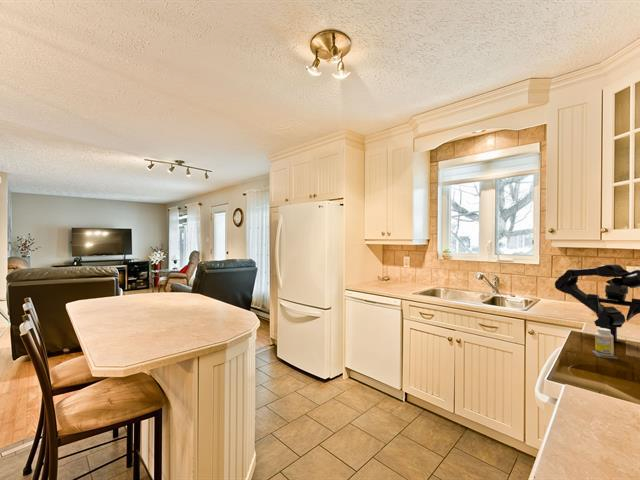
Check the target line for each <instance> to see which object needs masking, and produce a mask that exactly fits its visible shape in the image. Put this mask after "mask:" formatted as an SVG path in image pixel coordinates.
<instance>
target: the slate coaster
mask: <svg viewBox="0 0 640 480" xmlns="http://www.w3.org/2000/svg"><path fill="white" fill-rule="evenodd" d="M591 351H592V353H593V354H594V355H595V356H597V357H598V358H606V359H615V360H618V359H619V358H618V357H617V356H616V355H613V356H605V355H601V354H598V353H596V350H591Z"/></svg>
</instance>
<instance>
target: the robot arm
mask: <svg viewBox="0 0 640 480" xmlns="http://www.w3.org/2000/svg"><path fill="white" fill-rule="evenodd" d="M586 276H587V277H588V276H598V277H603V278H611V279H608V280H606V281H605V283H607V284H606V285H605V286H604V287H605V288H604V289H605V290H604V293H605V297H606V298H604V297H600V295H599V294H595V293H586V292H584V291H583V290H581V289H580V288H579V286H578V285H577V283H578V281H579V277H586ZM554 287H555V289H556V290H558V291H559V292H562V293H564V294H567V295H570V296H571V297H573V298H574V299H575V300H577V301H578V302H580V303H582V304H583V306H585V307H587V308H588V309H589V310H591V311H592V312H594V313H595V315H596V317H597V319H595V320H594V321H593V322H594V325H595V326H596V327H597V328H606V329H609V330H611V334H612V335H613V337H614V343H621V340H619V339H618V328H623V324H625V323H626V322H629V321H630V320H631V319H632V318H633V317H634V316H637V315H638V314H640V298H631V301H627V300H626V299H627V295H628V294H629V288H630V289H637V288H640V269H635V270H632V271H628V270H626V269H625V268H623V267H622V266H621V264H615V263H613V264H603V265H600V266H596V267H588V268H569V269H567V270H566V271H565V273H563V274H562V275H561V276H559V277H558V278H557V279H556V280H555V282H554ZM602 303H603V304H610V305H616V306H624V307H629V308H628V312H627V314H626V316H625V314H623V311H621V310H618V309H617V308H616V307H614V306H604V305H603V304H602ZM625 317H626V318H625Z"/></svg>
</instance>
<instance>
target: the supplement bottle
mask: <svg viewBox="0 0 640 480" xmlns="http://www.w3.org/2000/svg"><path fill="white" fill-rule="evenodd" d="M594 341H595V342H594V343H595V350H594V351H596V353H598V354H601V355H605V356H613V355H614V354H615V347H614V343H615V342H614V337H613V335H612V334H611V330H609V329H606V328H600V327H597V331H596V332H595V333H594ZM614 356H615V355H614Z"/></svg>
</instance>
